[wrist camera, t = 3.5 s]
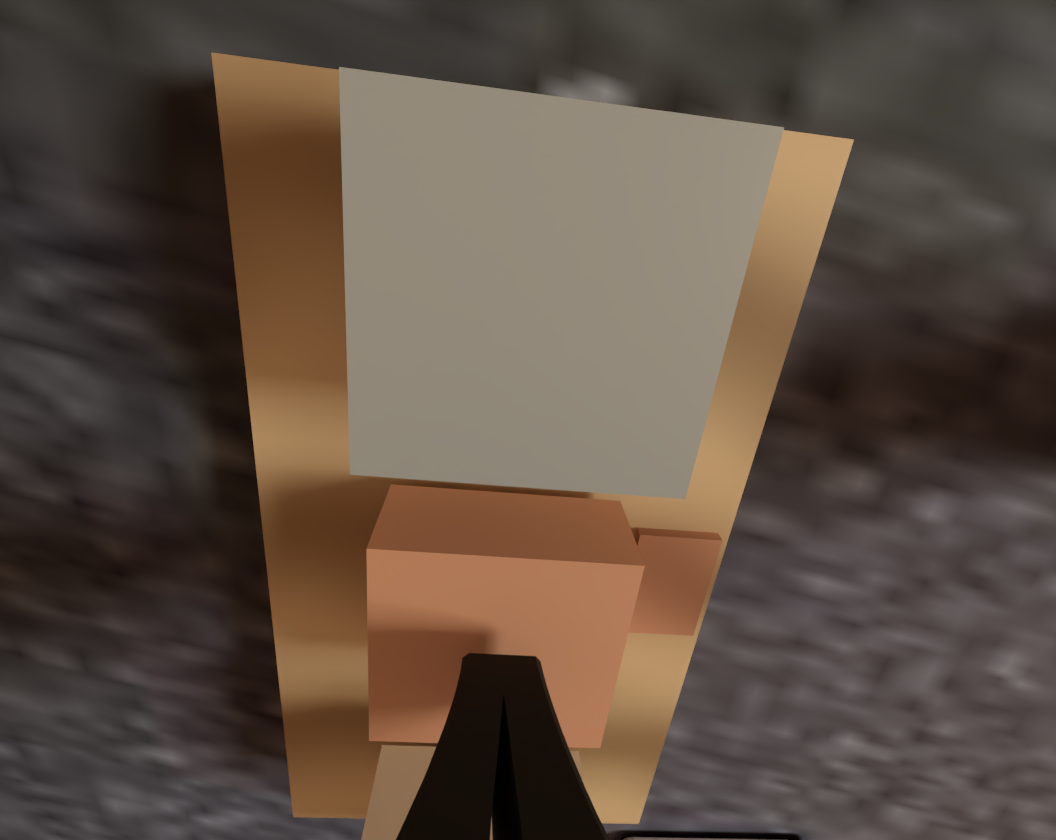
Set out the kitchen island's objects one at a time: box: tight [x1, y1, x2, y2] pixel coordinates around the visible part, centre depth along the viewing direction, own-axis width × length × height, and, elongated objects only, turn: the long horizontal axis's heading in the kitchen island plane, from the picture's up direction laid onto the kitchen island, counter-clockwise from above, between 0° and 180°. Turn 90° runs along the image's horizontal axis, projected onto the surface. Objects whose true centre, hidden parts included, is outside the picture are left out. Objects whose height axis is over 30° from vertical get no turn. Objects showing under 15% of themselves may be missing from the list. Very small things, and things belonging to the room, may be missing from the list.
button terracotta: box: [366, 484, 645, 748], centre depth 11 cm, size 5×5×2 cm
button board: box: [211, 53, 854, 824], centre depth 13 cm, size 20×11×3 cm, turn 174°
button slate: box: [339, 67, 784, 499], centre depth 8 cm, size 5×5×2 cm
